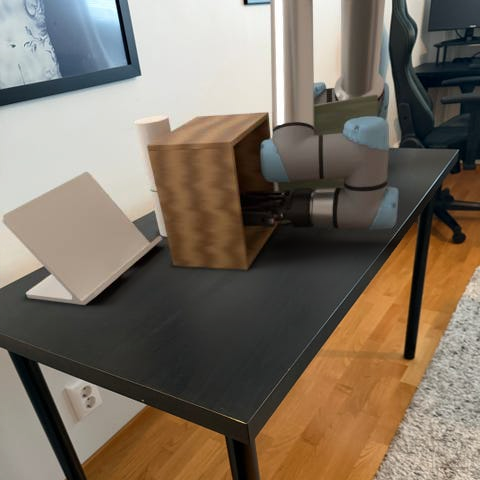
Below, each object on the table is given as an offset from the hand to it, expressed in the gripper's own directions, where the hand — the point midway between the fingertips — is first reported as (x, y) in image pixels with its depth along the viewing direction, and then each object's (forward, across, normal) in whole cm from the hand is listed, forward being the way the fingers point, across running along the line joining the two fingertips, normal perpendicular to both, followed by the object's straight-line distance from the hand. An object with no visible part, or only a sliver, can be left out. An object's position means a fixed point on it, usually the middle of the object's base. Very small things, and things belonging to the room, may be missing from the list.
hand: (204, 207), depth 100 cm
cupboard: (-4, 0, -8) cm, 9 cm away
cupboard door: (-21, +19, -8) cm, 29 cm away
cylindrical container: (+12, +6, -8) cm, 16 cm away
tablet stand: (+19, -15, -8) cm, 26 cm away
